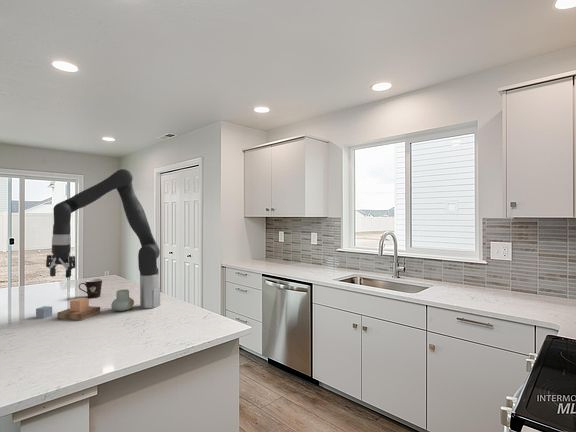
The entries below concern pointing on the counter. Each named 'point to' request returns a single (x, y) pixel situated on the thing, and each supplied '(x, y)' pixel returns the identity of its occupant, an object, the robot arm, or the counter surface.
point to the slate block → (44, 312)
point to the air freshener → (122, 301)
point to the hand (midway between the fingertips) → (60, 276)
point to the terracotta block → (79, 304)
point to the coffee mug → (93, 288)
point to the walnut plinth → (78, 314)
